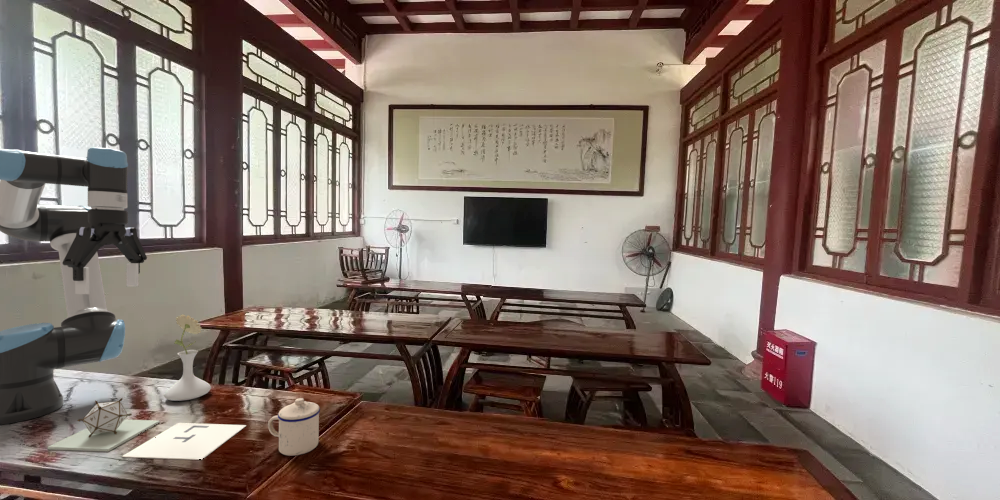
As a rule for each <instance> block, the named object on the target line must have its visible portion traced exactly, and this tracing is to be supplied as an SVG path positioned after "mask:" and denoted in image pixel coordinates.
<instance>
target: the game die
mask: <svg viewBox="0 0 1000 500" xmlns="http://www.w3.org/2000/svg"><path fill="white" fill-rule="evenodd" d="M122 400H123V397H122V398H119V399H118V400H115V401H108V402H107V401H105V402H99V401H98V400H95V401H94V404H95V405H94V406H93V407H92V408H90V411H89V412H87V414H86V415H85V416H84V417H83V418H79V419H77V422H83V424H84V425H85V427H86V428H88V430H89V431H90V433H91V434H90V435H89V437H91V436H92V434H98V433H107V432H114V434H117V431H116V429H117V428H118V427H119V426H120V424H121V423H122V422H123V421H124V419H126V418H127V417H128V416H129V417H130V416H132V415H133V414H132V413H127V411H126V409H125V407H124V406H123V404H122V402H121V401H122Z"/></svg>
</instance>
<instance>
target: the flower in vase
mask: <svg viewBox="0 0 1000 500" xmlns="http://www.w3.org/2000/svg"><path fill="white" fill-rule="evenodd" d="M175 321H176V324H177V325H178V326H179V327H180V329H182V330H183V331H182V335H181V337H180V339H178V338H177V339H175V340H174V343H173V344H175V345H178V346H180V347H183V349H184V350H183V351H182V350H181V351H178V352H177V355H178V356H179V357H180V359H181V362H182V367H183V368H182V369H183V370H182V376H181V378H180V379H179V380H176V382H175V383H173V384H172V385H171V386H170V387H168V389H166V391H165V392H164V394H163V397H164V398H165V400H168V401H173V402H178V401H179V402H180V401H181V402H182V401H189V400H194V399H197V398H200V397H202V396H204V395H206V394H208V393H209V392H210V390H211V389H212V386H211V385H210V383H208V382H207V381H205V380H203V379H201V378H199V377H197V376H195V375H194V369H193V366H194V359H195V358H196V355H197V354H198V353H199V350H198V349H197V350H196V349H187V348H188V347H190V346H192V345H194V344H195V343H196V340H194V342H192V343H189V344H188V345H186V346H185V344H184V341H183V338H184V334H185V332H186V333H190V335H199V333H200V334H201V333H202V331H201V330H202V329H203V327H201V324H200V323H199V321H198V319H195V318H194V317H191V315H185V314H184V313H183V314H180V315H177V317H175Z"/></svg>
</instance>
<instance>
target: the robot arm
mask: <svg viewBox="0 0 1000 500" xmlns="http://www.w3.org/2000/svg"><path fill="white" fill-rule="evenodd" d="M128 167H129V163H128V156H127V153H126V152H125V151H123V150H119V149H115V148H107V147H96V146H95V147H89V148H88V149H87V154H86V157H78V156H77V157H76V156H68V155H61V154H53V153H52V154H50V153H43V152H42V153H41V152H34V151H28V150H26V151H25V150H20V149H15V148H14V149H7V148H0V232H1V233H3V235H4V234H5V235H6V236H9V237H12V238H14V239H15V238H16V239H17V240H18V239H19V240H22V241H28V242H49V243H50V247H51V248H52V249H53V250H55V251H58V256H59V257H58V258H59V263H60V271H61V272H60V273H61V279H62V285H63V286H62V287H63V293H64V301H65V307H66V314H67V317H65V318H64V319H63V320H61V322H60V326H56V327H54V325H53V324H52V323H51V322H40V323H29V324H25V325H19V326H15V327H11V328H6V329H3V330H0V425H8V424H13V423H18V422H23V421H28V420H32V419H36V418H39V417H42V416H46V415H48V414H51V413H53V412H55V411H57V410H60V408H62V407H63V406H64V395H63V394H62V393H61V391H60V389H59V387H58V384H57V383H56V381H55V379H54V370H56V369H63V368H69V367H74V366H81V365H86V364H92V363H101V362H104V361H108V360H112V359H116V358H118V357H119V356H120V355H121V354H122V352H123V348H124V345H125V337H126V324H125V321H124V320H123V319H116V315H115V313H114V312H112V311H110V310H108V306H107V301H106V296H105V294H106V293H105V289H104V284H103V277H102V272H101V266H100V260H99V255H98V251H99V250H100V249H101V248H102V247H104V246H110V245H113V246H116V247H117V249H118V250H119V251H120V252H121V253H122V254H123V256H124V257H125V258H126V259H127V261H128V262H126V269H125V270H126V271H125V272H126V275H125V276H126V287H133V288H134V287H135V288H137V287H139V285H140V284H139V281H140V280H139V275H140V273H141V271H140V270H141V266H140V265H141V264H144V262H145V261H146V260H147V258H148V256H147V254H146V252H145V250H144V248H143V244H141V241H140V239H139V236H138V231H137V228H136V227H125V225H127V224H128V223H129V217H128V216H129V213H128V211H127V210H125V209H128ZM46 184H48V185H50V184H51V185H60V186H61V185H64V186H74V187H75V186H76V187H87V206H84V205H75V206H74V205H58V204H41V203H40V204H39V202H40V201H41V197H42V194H43V191H44V188H45V186H46Z"/></svg>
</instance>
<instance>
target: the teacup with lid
mask: <svg viewBox="0 0 1000 500" xmlns="http://www.w3.org/2000/svg"><path fill="white" fill-rule="evenodd" d="M320 412H321V408H320V406H319V404H317V403H315V402H311V401H306V400H305V399H304V397H299V398H296V399H295V400H294V402H293V403H291V404H288V405H285V406H283V407H282V408H281V409H280V410H279V412H278V414H277V415H273V416H272V417H271V418H270V419H269V420H268V422H267V428H268V431H269V433H270V434H271V435H272V436H274V437H278V452H279V453H280V454H282V455H284V456H289V457H290V456H300V455H304V454H307V453H309V452H311V451H313V450H314V449H315V448H317V446H318V445H319V441H320V440H319V435H320V434H319V433H320V430H319V428H320V427H319V426H320V425H319V424H320V421H319V420H320V417H319V416H320ZM276 420H278V431H277V430H276V428H275V427H274V422H273V421H276Z"/></svg>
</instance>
